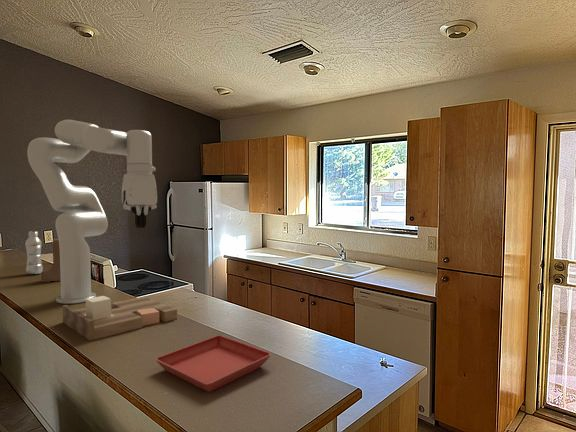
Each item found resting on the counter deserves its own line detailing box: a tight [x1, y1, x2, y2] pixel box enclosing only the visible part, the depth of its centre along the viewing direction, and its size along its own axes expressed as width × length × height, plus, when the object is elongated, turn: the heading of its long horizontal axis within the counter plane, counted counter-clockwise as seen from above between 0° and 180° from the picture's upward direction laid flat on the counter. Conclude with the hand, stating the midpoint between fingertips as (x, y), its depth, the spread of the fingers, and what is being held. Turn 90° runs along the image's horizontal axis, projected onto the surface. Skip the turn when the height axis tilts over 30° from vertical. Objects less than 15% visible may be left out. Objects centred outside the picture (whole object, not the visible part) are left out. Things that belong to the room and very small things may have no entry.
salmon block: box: [137, 308, 160, 327], centre depth 118 cm, size 5×5×4 cm
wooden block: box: [40, 238, 61, 283], centre depth 173 cm, size 9×4×18 cm, turn 116°
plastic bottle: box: [24, 231, 44, 275], centre depth 186 cm, size 6×7×20 cm
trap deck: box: [61, 296, 178, 341], centre depth 119 cm, size 21×25×5 cm
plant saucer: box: [155, 335, 272, 392], centre depth 86 cm, size 18×18×3 cm
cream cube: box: [85, 295, 112, 320], centre depth 113 cm, size 5×5×5 cm
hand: (140, 227), depth 127 cm, fingers closed
